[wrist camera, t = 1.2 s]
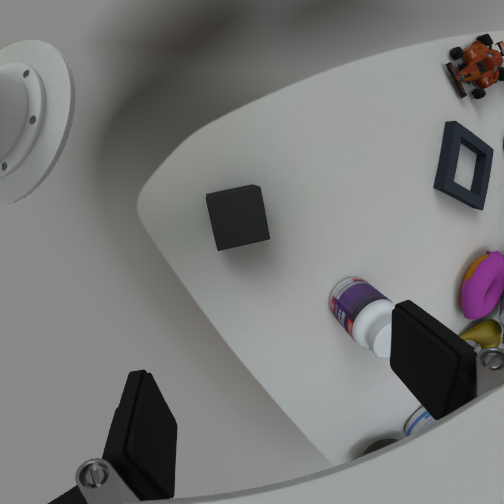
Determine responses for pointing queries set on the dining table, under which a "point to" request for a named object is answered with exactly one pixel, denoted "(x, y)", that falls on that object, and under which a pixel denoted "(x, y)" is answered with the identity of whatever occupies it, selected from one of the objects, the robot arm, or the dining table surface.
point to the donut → (482, 285)
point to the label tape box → (502, 313)
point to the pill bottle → (363, 314)
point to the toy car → (478, 65)
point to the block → (237, 216)
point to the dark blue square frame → (448, 164)
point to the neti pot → (485, 334)
